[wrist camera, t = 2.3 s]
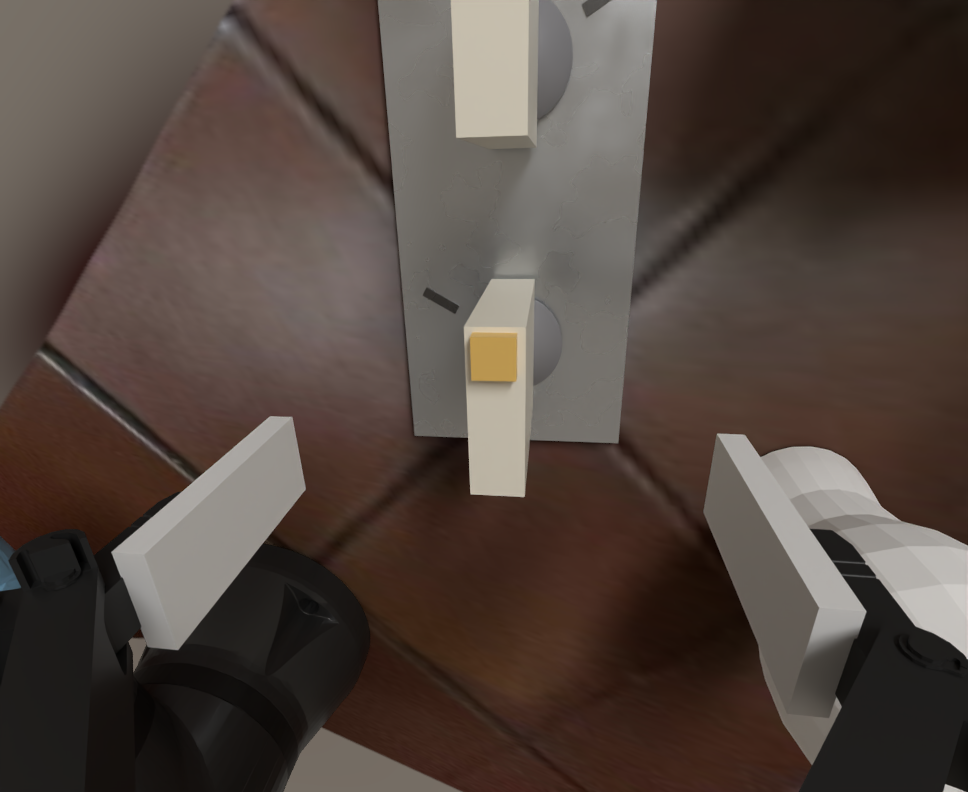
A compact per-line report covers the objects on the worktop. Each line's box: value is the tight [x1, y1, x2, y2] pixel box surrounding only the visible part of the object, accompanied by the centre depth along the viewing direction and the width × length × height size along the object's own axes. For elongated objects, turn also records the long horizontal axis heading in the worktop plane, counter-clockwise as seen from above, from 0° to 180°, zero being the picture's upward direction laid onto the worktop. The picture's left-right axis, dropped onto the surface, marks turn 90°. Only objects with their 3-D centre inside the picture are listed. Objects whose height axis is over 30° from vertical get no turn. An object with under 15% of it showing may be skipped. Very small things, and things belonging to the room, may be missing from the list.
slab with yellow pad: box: [464, 279, 562, 497], centre depth 24 cm, size 5×7×10 cm
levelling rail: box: [378, 0, 657, 443], centre depth 23 cm, size 12×38×1 cm, turn 1°
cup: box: [759, 447, 968, 792], centre depth 24 cm, size 11×11×15 cm
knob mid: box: [451, 0, 573, 149], centre depth 19 cm, size 5×7×10 cm
